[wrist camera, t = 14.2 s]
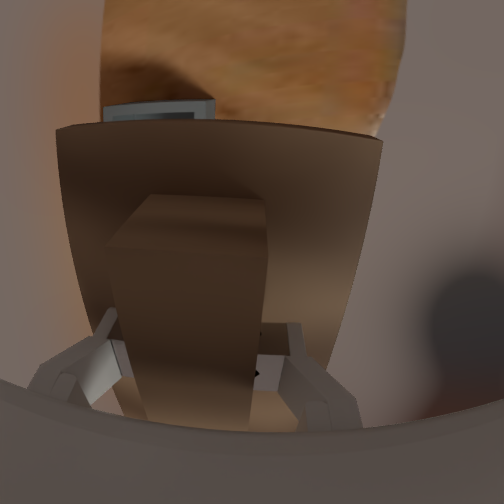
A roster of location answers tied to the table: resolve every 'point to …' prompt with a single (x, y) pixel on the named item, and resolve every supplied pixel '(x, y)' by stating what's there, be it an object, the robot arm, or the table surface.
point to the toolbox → (161, 110)
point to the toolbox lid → (214, 252)
